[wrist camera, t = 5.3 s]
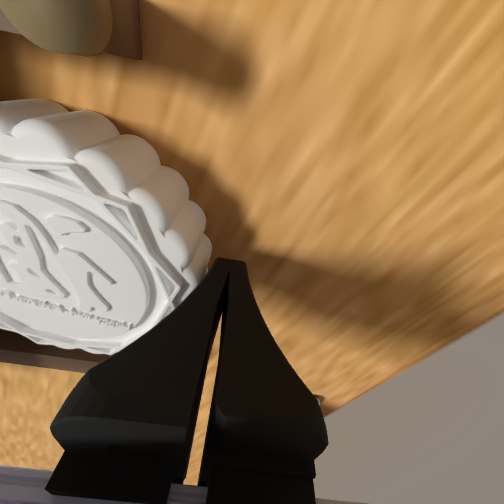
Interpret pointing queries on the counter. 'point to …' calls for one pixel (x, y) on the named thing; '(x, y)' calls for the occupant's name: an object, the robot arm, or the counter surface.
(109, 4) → the lid holder
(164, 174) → the mooncake
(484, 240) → the counter surface
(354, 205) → the counter surface
